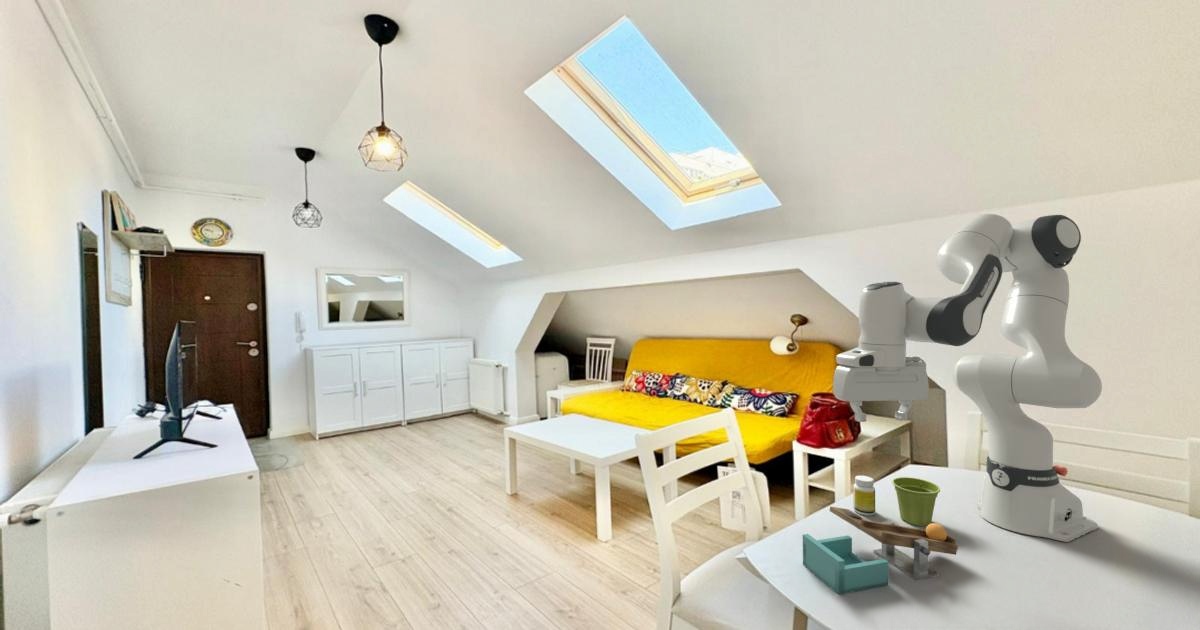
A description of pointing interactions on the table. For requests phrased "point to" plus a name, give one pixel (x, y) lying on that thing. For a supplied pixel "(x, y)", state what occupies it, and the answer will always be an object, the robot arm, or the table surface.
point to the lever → (895, 533)
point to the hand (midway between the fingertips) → (880, 420)
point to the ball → (936, 532)
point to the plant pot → (916, 499)
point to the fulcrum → (908, 558)
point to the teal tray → (843, 565)
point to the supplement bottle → (864, 495)
